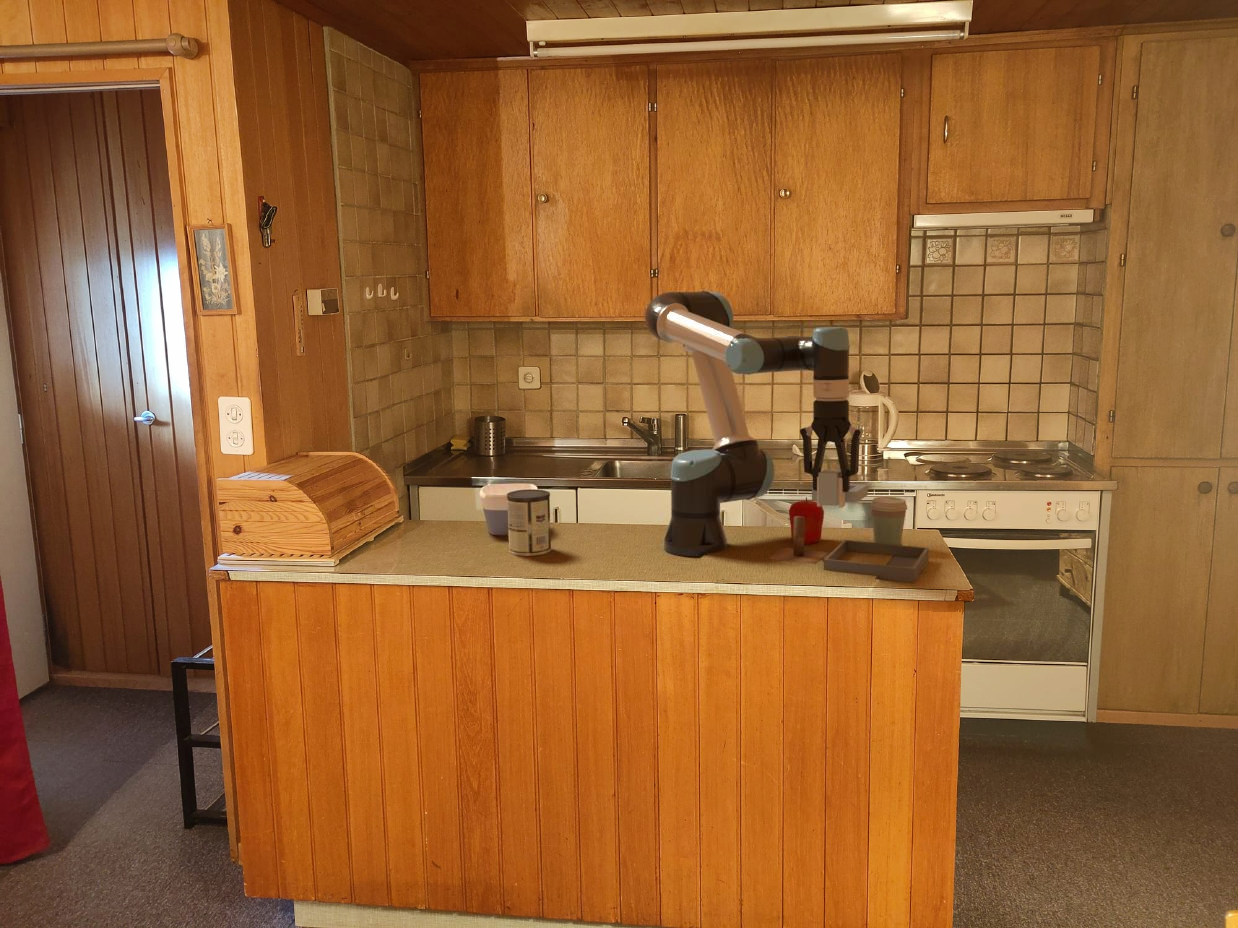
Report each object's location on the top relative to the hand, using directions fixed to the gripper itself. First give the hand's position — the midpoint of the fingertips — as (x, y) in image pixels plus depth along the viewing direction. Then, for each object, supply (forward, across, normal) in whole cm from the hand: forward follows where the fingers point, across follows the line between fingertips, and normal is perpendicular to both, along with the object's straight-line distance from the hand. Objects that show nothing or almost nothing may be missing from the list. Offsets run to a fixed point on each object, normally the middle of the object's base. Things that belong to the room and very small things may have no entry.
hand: (831, 505), depth 227 cm
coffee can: (+13, -70, -13) cm, 72 cm away
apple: (+14, -12, +21) cm, 28 cm away
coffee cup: (+15, +7, +25) cm, 30 cm away
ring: (-1, 0, +5) cm, 5 cm away
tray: (+15, +8, +8) cm, 19 cm away
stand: (+14, -10, +7) cm, 19 cm away
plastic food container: (+12, -86, +2) cm, 86 cm away
